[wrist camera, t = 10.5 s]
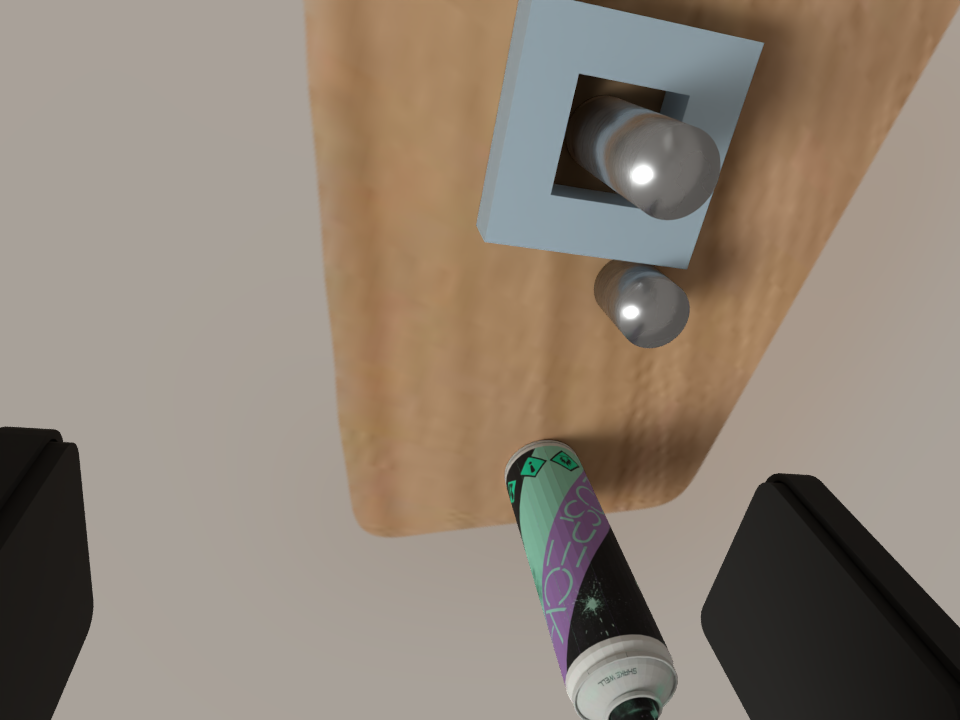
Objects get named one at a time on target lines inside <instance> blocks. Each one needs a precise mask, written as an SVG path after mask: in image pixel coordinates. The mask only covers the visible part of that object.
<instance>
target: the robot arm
mask: <svg viewBox="0 0 960 720" xmlns="http://www.w3.org/2000/svg"><path fill="white" fill-rule="evenodd" d="M92 615H93V593H92V582H91V572H90V562H89V552H88V542H87V531H86V522H85V511H84V502H83V491H82V481H81V470H80V461H79V452H78V448H77V446H76V444H75V443H69V442H63V439H62V436H61V434H60V432H59V431H57V430H54V429H38V428H21V427H1V428H0V720H51V718H52V716H53V714H54V711H55V709H56V707H57V704H58V702H59V699H60V697H61V695H62V693H63V690H64V688H65V686H66V683H67V681H68V678H69V676H70V674H71V672H72V669H73V667H74V664H75V662H76V660H77V657H78V655H79V653H80V650H81V648H82V646H83V643H84V641H85V639H86V636H87V634H88V631H89V628H90V624H91V620H92ZM701 624H702V629H703V631H704V634H705V636H706V638H707V640H708V642H709V644H710V645H711V647H712V649H713V651H714V653H715V655H716V657H717V658H718V660H719V662H720V664H721V666H722V667H723V669H724V671H725V673H726V675H727V677H728V679H729V681H730V682H731V684H732V686H733V688H734V690H735V692H736V694H737V695H738V697H739V699H740V701H741V703H742V705H743V707H744V709H745V710H746V712H747V714H748V716H749V718H750V720H960V628H959V626H958V625H957V624H956V623H955V622H954V621H953V620H952V619H951V618H950V617H949V616H948V615H947V614H946V613H945V612H944V611H943V610H942V608H941V607H940V606H938V604H937V603H936V602H935V601H934V600H933V599H932V598H931V597H930V596H929V595H928V594H927V593H926V592H925V591H924V590H923V588H922V587H921V586H920V585H919V584H918V583H917V582H916V581H915V580H914V579H913V578H912V577H911V576H910V575H909V574H908V573H907V572H906V571H905V570H904V568H903V567H902V566H901V565H900V564H899V563H898V562H897V561H896V560H895V559H894V558H893V557H892V556H891V555H890V554H889V553H888V552H887V551H886V550H885V548H884V547H883V546H882V545H881V544H880V543H879V542H878V541H877V540H876V539H875V538H874V537H873V536H872V535H871V534H870V533H869V532H868V531H867V529H866V528H865V527H864V526H863V525H862V524H861V523H860V522H859V521H858V520H857V519H856V518H855V517H854V516H853V515H852V514H851V513H850V511H848V509H847V508H846V507H845V506H844V505H843V504H842V503H841V502H840V501H839V500H838V499H837V498H836V497H835V496H834V495H833V494H832V492H830V491H829V490H828V488H827V487H826V486H825V485H824V484H823V483H822V482H821V481H820V480H819V479H817V478H816V477H814V476H810V475H799V474H782V473H778V474H773V475H772V476H770V477H769V478H768V479H767V481H766V482H765V483H762V484H761V485H759V487H758V488H757V490H756V491H755V494H754V496H753V498H752V500H751V502H750V504H749V507H748V509H747V511H746V513H745V516H744V518H743V520H742V522H741V524H740V527H739V529H738V531H737V533H736V535H735V537H734V540H733V542H732V544H731V546H730V548H729V551H728V553H727V555H726V557H725V559H724V562H723V564H722V566H721V568H720V570H719V573H718V575H717V577H716V579H715V581H714V584H713V586H712V588H711V590H710V592H709V595H708V597H707V599H706V601H705V603H704V606H703V608H702V611H701Z"/></svg>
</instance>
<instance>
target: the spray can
mask: <svg viewBox="0 0 960 720" xmlns="http://www.w3.org/2000/svg"><path fill="white" fill-rule="evenodd" d="M505 482H506V487H507V490H508V494H509V497H510V500H511V504H512V507H513V511H514V514H515V517H516V521H517V524H518V527H519V531H520V534H521V538H522V541H523V544H524V548H525V551H526V554H527V558H528V561H529V565H530V568H531V571H532V575H533V578H534V581H535V585H536V588H537V592H538V595H539V598H540V602H541V605H542V609H543V612H544V616H545V619H546V622H547V626H548V629H549V632H550V636H551V639H552V643H553V646H554V649H555V653H556V656H557V659H558V663H559V666H560V669H561V673H562V676H563V680H564V683H565V686H566V690H567V693H568V696H569V698H570V700H571V701H572V703H573V706H574V709H575V711H576V713H577V715H578V716H579V717H580V718H581V719H582V720H658V718H659V716H660V715H661V713H662V708H663V707H664V706H665V705H666V704H667V703H668V702H669V700H670V699H671V698H672V696H673V694H674V693H675V691H676V688H677V684H678V677H677V674H676V671H675V669H674V667H673V660H672V658H671V655H670V653H669V651H668V649H667V646H666V644H665V642H664V640H663V638H662V636H661V634H660V631H659V629H658V627H657V625H656V623H655V621H654V619H653V617H652V614H651V612H650V610H649V608H648V606H647V604H646V602H645V599H644V597H643V595H642V593H641V591H640V589H639V587H638V585H637V582H636V580H635V578H634V576H633V574H632V572H631V569H630V567H629V565H628V563H627V561H626V559H625V557H624V555H623V552H622V550H621V548H620V546H619V544H618V542H617V540H616V537H615V535H614V533H613V531H612V529H611V527H610V525H609V523H608V520H607V519H606V516H605V514H604V512H603V510H602V508H601V505H600V503H599V501H598V499H597V497H596V495H595V493H594V490H593V488H592V486H591V484H590V482H589V480H588V478H587V476H586V473H585V471H584V469H583V467H582V465H581V463H580V461H579V458H578V457H577V455H576V453H575V452H574V451H573V449H571V448H570V447H569V446H568V445H566V444H564V443H562V442H559V441H555V440H541V441H536V442H533V443H530V444H528V445H526V446H524V447H522V448H521V449H519V450H518V451H517V452H516V453H515V454H514V455H513V456H512V457H511V459H510V460H509V462H508V464H507V466H506V469H505Z"/></svg>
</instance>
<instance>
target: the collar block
mask: <svg viewBox="0 0 960 720" xmlns="http://www.w3.org/2000/svg"><path fill="white" fill-rule="evenodd" d="M763 45H764V43H762V42H757V41H753V40H748V39H744V38H740V37H735V36H731V35H726V34H722V33H717V32H713V31H708V30H704V29H699V28H695V27H690V26H686V25H681V24H677V23H673V22H668V21H664V20H659V19H655V18H650V17H646V16H641V15H637V14H632V13H628V12H623V11H619V10H614V9H610V8H606V7H601V6H597V5H592V4H588V3H583V2H579V1H574V0H519V2H518V7H517V12H516V18H515V23H514V28H513V33H512V39H511V44H510V49H509V55H508V60H507V65H506V71H505V76H504V81H503V86H502V92H501V97H500V102H499V108H498V113H497V118H496V124H495V129H494V134H493V139H492V145H491V150H490V155H489V161H488V166H487V171H486V176H485V182H484V187H483V192H482V198H481V203H480V208H479V214H478V219H477V224H476V226H477V228H478V230H479V232H480V234H481V236H482V238H483V240H484V242H489V243H496V244H504V245H511V246H518V247H526V248H533V249H541V250H548V251H555V252H563V253H570V254H577V255H585V256H592V257H600V258H607V259H614V260H622V261H629V262H636V263H644V264H651V265H659V266H666V267H673V268H681V269H687V267H688V264H689V261H690V259H691V256H692V253H693V250H694V247H695V244H696V241H697V238H698V235H699V232H700V229H701V226H702V223H703V221H704V218H705V215H706V212H707V209H708V206H709V203H710V200H711V197H712V194H713V193H712V194H711V196H710V197H709V198H708V200H707V201H706V202H705V203H704V204H703V205H702V206H701V207H700V208H699V209H697V210H696V211H695V212H693V213H691V214H690V215H688V216H685V217H683V218H680V219H675V220H660V219H656V218H654V217H651V216H649V215H648V214H646V213H645V212H643V211H642V210H641V209H639V208H638V207H637V206H635V205H634V204H632V203H631V202H630V201H628V200H627V199H626V198H624V197H623V196H621V195H620V194H615V193H609V192H602V191H596V190H590V189H583V188H577V187H571V186H564V185H558V184H553V182H554V178H555V174H556V170H557V165H558V161H559V157H560V153H561V148H562V144H563V140H564V135H565V131H566V127H567V123H568V118H569V114H570V110H571V106H572V101H573V97H574V93H575V89H576V84H577V80H578V76H579V74H584V75H589V76H594V77H599V78H604V79H609V80H614V81H619V82H624V83H629V84H634V85H639V86H644V87H649V88H654V89H659V90H664V91H666V93H665V97H664V100H663V104H662V107H661V110H660V114H662V115H665V116H668V117H670V118H673V119H676V120H679V121H681V122H684V123H687V124H689V125H692V126H695V127H697V128H700V129H702V130H703V131H705V132H706V133H707V134H708V135H710V136H711V138H712V139H713V140H714V142H715V144H716V145H717V148H718V150H719V154H720V162H721V166H720V171H721V168H722V165H723V162H724V159H725V156H726V153H727V150H728V147H729V144H730V141H731V139H732V136H733V133H734V130H735V127H736V124H737V121H738V118H739V115H740V112H741V109H742V106H743V103H744V100H745V98H746V95H747V92H748V89H749V86H750V83H751V80H752V77H753V74H754V71H755V68H756V65H757V62H758V59H759V57H760V54H761V51H762V48H763Z"/></svg>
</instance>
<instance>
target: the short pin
mask: <svg viewBox="0 0 960 720" xmlns="http://www.w3.org/2000/svg"><path fill="white" fill-rule="evenodd" d="M594 295H595V299H596V301H597V303H598V305H599V306H600V308H601V309H602V310H603V311H604V312H605V313H606V315H607V316H608V317H609V318H610V319H611V321H612V322H613V323H614V324H615V325H616V326H617V328H618V329H619V330H620V331H621V332H622V333H623V335H624V336H625V337H626V338H627V339H628V340H629V341H630V342H631V343H633V344H634V345H636V346H639V347H643V348H656V347H660V346H663V345H665V344H667V343H669V342H671V341H672V340H673V339H675V338H676V337H677V336H678V335H679V334H680V333H681V331H682V330H683V329H684V327H685V325H686V323H687V321H688V317H689V310H690V307H689V301H688V298H687V296H686V294H685V292H684V291H683V290H682V289H681V288H680V287H679V286H677V285H676V284H675V283H674V282H672V281H671V280H670V279H669V278H667V277H666V276H665V275H664V274H662V273H661V272H660V271H659V270H657V269H656V268H655V267H654V266H652V265H651V264H644V263H636V262H629V261H622V260H614V259H613V260H611V261H610V262H608V263H607V264H606V265H605V266H604V267H603V268H602V269H601V271H600V272H599V274H598V276H597V278H596V280H595V284H594Z"/></svg>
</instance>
